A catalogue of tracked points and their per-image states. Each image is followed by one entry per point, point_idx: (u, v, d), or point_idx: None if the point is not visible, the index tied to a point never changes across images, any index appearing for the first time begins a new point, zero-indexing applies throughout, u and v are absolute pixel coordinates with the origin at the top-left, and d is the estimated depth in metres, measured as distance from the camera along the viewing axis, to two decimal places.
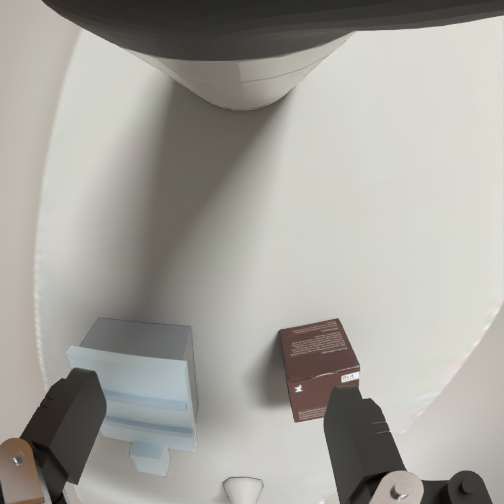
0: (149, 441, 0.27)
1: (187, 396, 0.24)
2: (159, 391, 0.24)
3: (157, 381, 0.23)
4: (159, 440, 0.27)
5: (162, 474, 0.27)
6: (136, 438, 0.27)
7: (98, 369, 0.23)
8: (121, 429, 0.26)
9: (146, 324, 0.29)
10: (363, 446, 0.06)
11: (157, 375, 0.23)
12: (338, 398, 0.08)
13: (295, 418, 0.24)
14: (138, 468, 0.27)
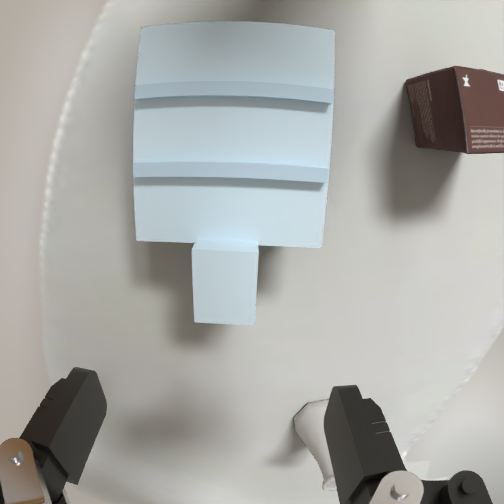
0: (235, 228, 0.18)
1: (333, 80, 0.15)
2: (290, 69, 0.14)
3: (291, 48, 0.14)
4: (256, 219, 0.17)
5: (247, 318, 0.18)
6: (209, 223, 0.17)
7: (191, 41, 0.14)
8: (184, 199, 0.17)
9: None
10: (363, 446, 0.06)
11: (293, 37, 0.14)
12: (338, 398, 0.08)
13: (468, 142, 0.15)
14: (199, 307, 0.17)
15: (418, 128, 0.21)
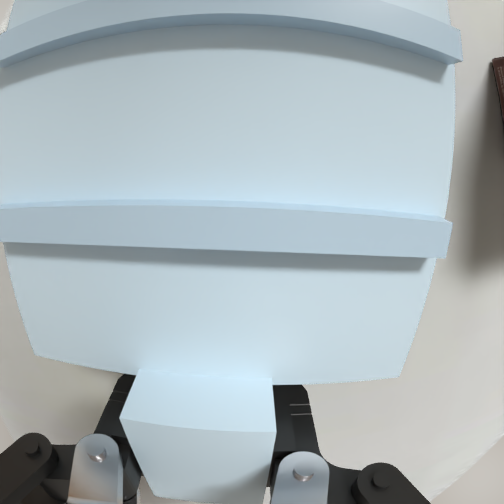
0: (219, 356, 0.07)
1: (446, 16, 0.04)
2: None
3: None
4: (270, 338, 0.07)
5: (249, 500, 0.07)
6: (160, 344, 0.07)
7: None
8: (99, 290, 0.07)
9: None
10: None
11: None
12: None
13: None
14: (158, 486, 0.07)
15: None
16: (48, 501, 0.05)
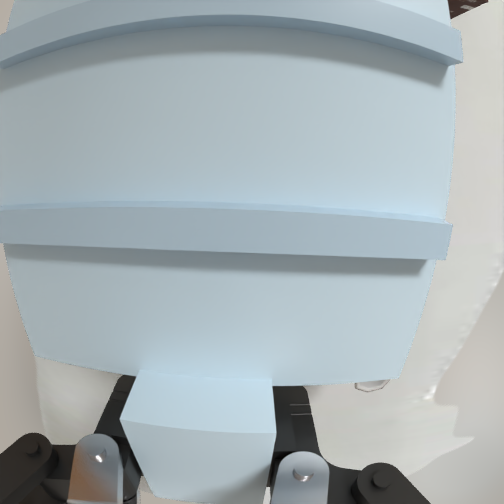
0: (219, 358, 0.07)
1: (447, 17, 0.04)
2: None
3: None
4: (269, 340, 0.07)
5: (249, 500, 0.07)
6: (160, 345, 0.07)
7: None
8: (99, 292, 0.07)
9: None
10: None
11: None
12: None
13: None
14: (158, 486, 0.07)
15: None
16: (48, 501, 0.05)
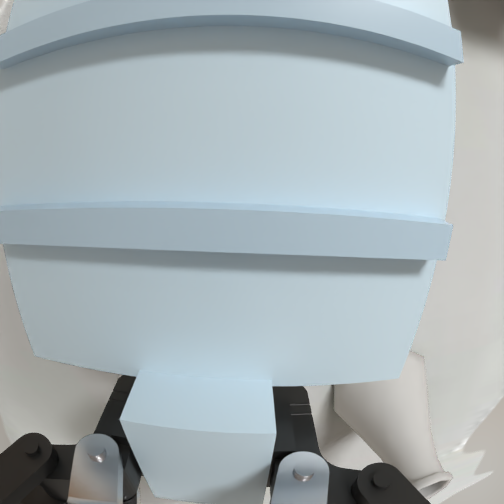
0: (219, 358, 0.07)
1: (447, 17, 0.04)
2: None
3: None
4: (269, 340, 0.07)
5: (249, 501, 0.07)
6: (160, 346, 0.07)
7: None
8: (99, 292, 0.07)
9: None
10: None
11: None
12: None
13: None
14: (158, 486, 0.07)
15: None
16: (49, 501, 0.05)
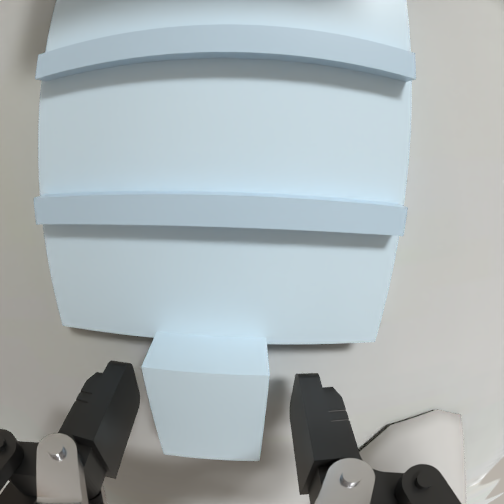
0: (224, 317, 0.09)
1: (407, 40, 0.07)
2: (330, 11, 0.06)
3: None
4: (264, 301, 0.09)
5: (247, 454, 0.09)
6: (175, 308, 0.09)
7: None
8: (127, 264, 0.09)
9: None
10: (316, 432, 0.07)
11: None
12: (298, 385, 0.09)
13: None
14: (168, 440, 0.09)
15: None
16: (21, 499, 0.04)
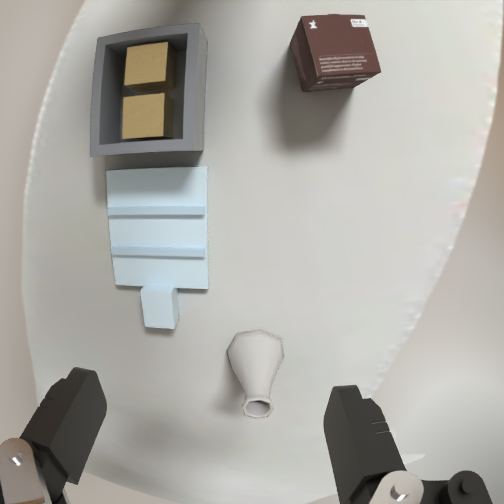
0: (162, 279, 0.33)
1: (206, 199, 0.31)
2: (182, 195, 0.30)
3: (182, 182, 0.30)
4: (172, 274, 0.33)
5: (170, 325, 0.33)
6: (150, 276, 0.33)
7: (132, 181, 0.30)
8: (137, 265, 0.33)
9: None
10: (363, 446, 0.06)
11: (183, 176, 0.30)
12: (338, 398, 0.08)
13: (317, 68, 0.21)
14: (146, 319, 0.33)
15: (299, 76, 0.27)
16: None
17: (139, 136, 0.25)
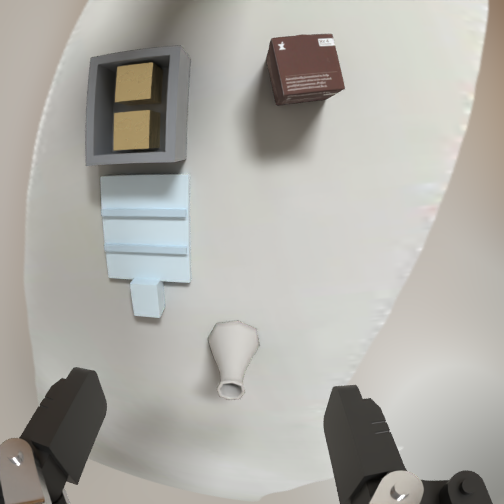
0: (150, 273, 0.37)
1: (187, 203, 0.34)
2: (167, 200, 0.34)
3: (167, 188, 0.34)
4: (158, 269, 0.37)
5: (156, 314, 0.37)
6: (138, 271, 0.37)
7: (123, 186, 0.33)
8: (127, 260, 0.36)
9: None
10: (363, 446, 0.06)
11: (168, 182, 0.33)
12: (338, 398, 0.08)
13: (283, 87, 0.24)
14: (135, 308, 0.37)
15: (273, 90, 0.30)
16: None
17: (128, 148, 0.29)
